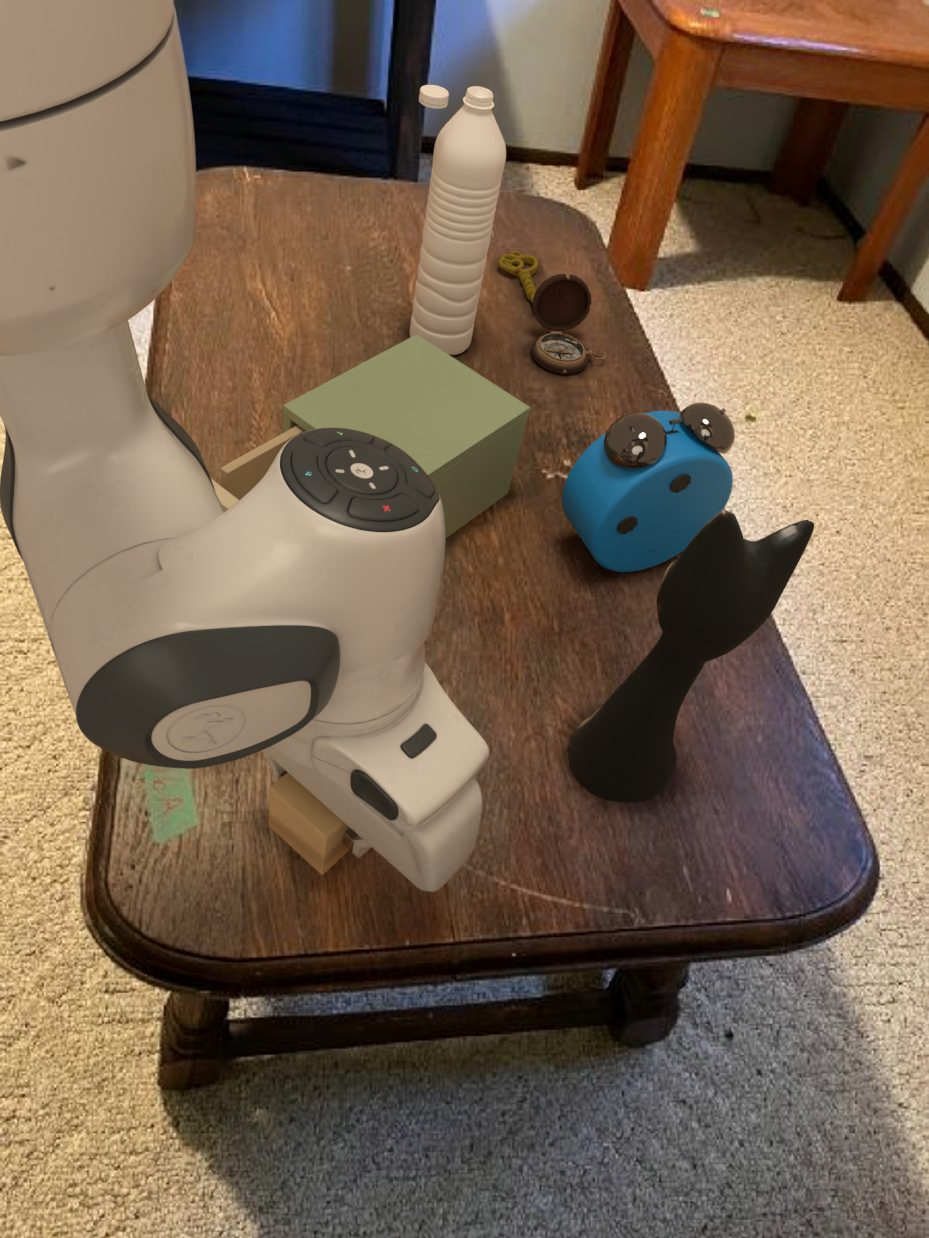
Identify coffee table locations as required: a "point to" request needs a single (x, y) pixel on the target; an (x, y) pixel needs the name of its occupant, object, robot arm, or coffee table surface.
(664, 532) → the alarm clock
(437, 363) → the cabinet
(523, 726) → the coffee table surface
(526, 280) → the key
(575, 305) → the compass
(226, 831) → the coffee table surface
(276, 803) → the block
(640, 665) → the figurine
